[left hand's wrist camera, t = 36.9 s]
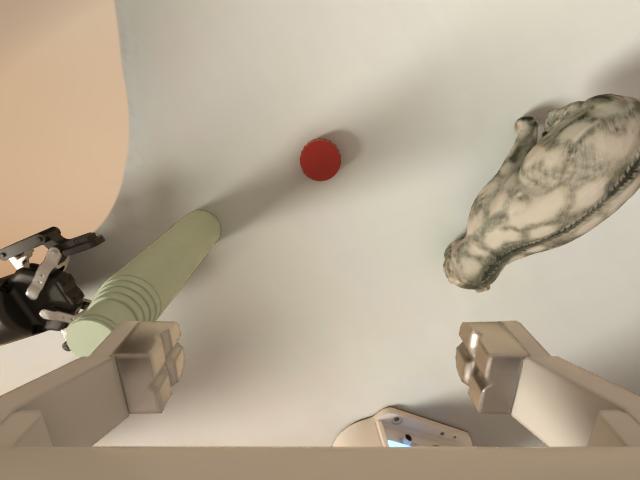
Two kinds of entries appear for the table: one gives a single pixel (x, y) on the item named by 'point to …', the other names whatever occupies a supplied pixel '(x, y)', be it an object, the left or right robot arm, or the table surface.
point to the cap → (320, 159)
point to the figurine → (550, 187)
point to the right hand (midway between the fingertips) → (119, 273)
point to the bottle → (145, 282)
